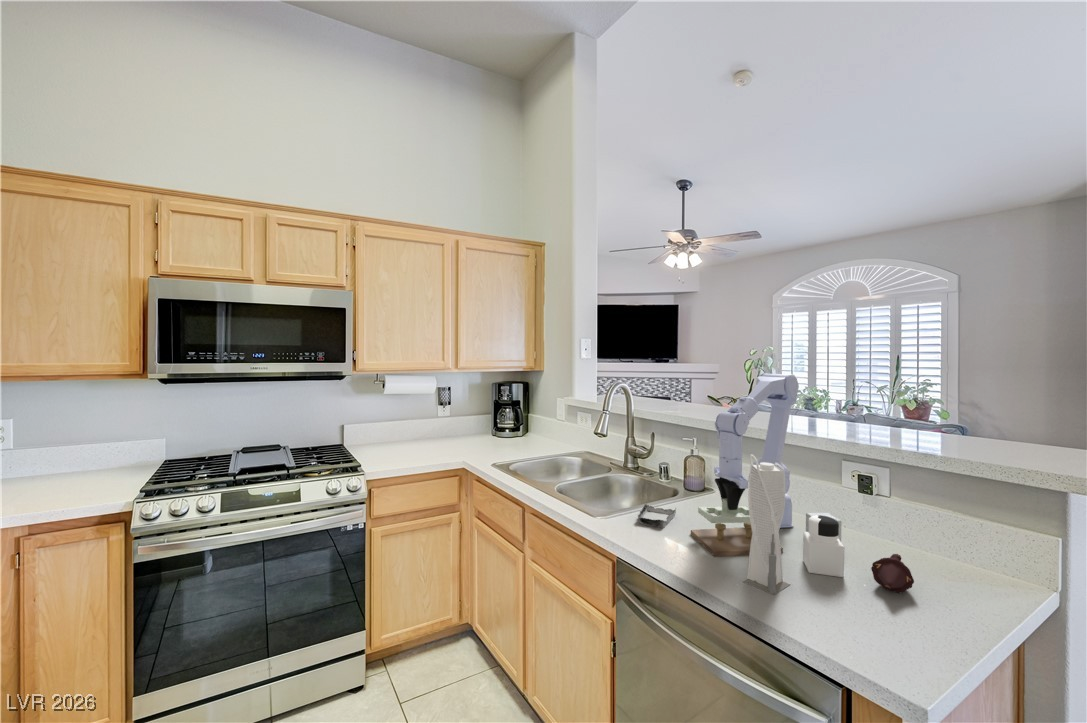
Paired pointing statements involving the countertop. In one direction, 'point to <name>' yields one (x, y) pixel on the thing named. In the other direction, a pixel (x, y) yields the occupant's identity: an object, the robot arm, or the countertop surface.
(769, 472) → the skyscraper
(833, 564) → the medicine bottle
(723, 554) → the board
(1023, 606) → the countertop surface
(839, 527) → the skincare box
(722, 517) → the panel
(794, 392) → the robot arm
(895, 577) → the dark maroon knobbed disc
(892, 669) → the countertop surface
